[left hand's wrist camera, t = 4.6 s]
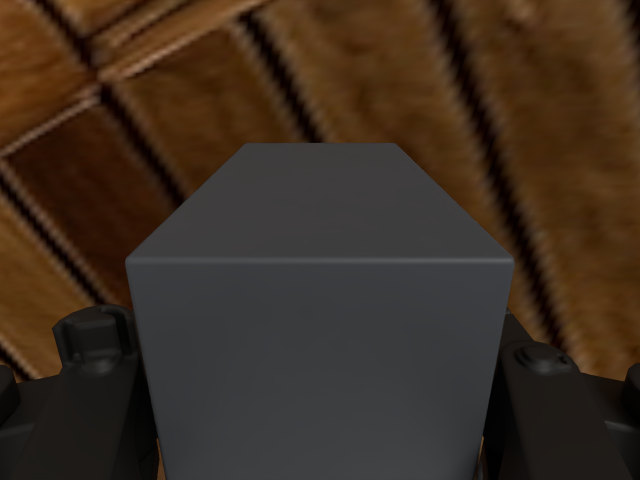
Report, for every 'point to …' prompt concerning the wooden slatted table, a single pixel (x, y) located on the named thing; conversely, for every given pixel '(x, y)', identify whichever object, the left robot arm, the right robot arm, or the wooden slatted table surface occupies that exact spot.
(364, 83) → the wooden slatted table surface
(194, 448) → the bar
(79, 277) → the wooden slatted table surface
